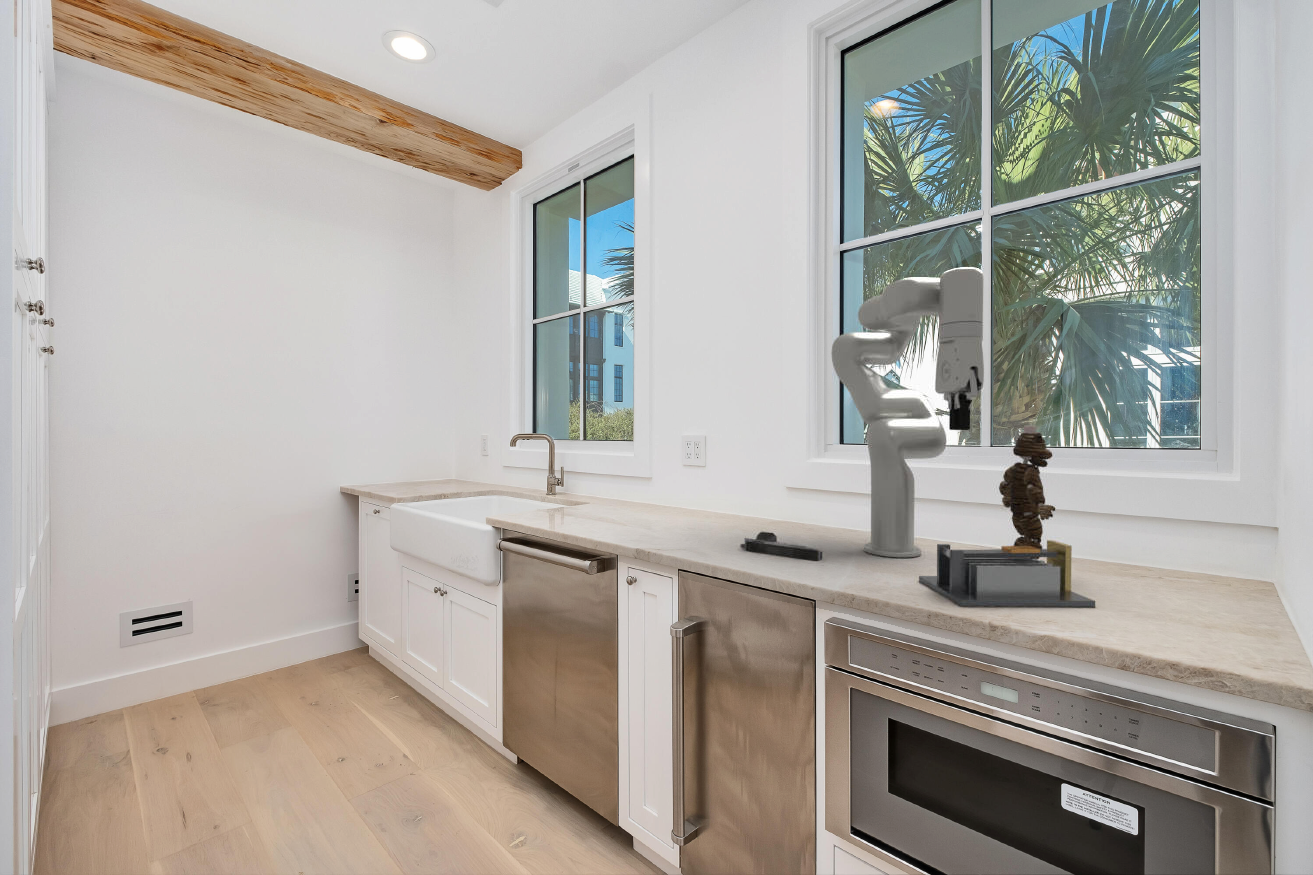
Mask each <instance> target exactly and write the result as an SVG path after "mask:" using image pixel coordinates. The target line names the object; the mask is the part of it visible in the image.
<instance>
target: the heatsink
mask: <svg viewBox="0 0 1313 875" xmlns="http://www.w3.org/2000/svg"><path fill="white" fill-rule="evenodd" d="M936 548H937V549H936V557H937V558H936V575H919V576H918V582H920V583H921V584H923V585H925V586H927V587H928V588H930V589H931V590H933V591H934V592H936V593H938V594H939V595H941V596H942V597H944V598H946V599H948V600H949V601H951V602H953V603H955V604H956V605H958V606H960V607H961V608H962V607H964V606H966V607H967V606H970V607H972V606H974V607H975V606H1008V607H1007V608H1010V607H1011V606H1015V607H1014V608H1016V607H1017V606H1020V607H1019V608H1022V607H1023V608H1028V607H1029V608H1030V607H1031V608H1036V607H1037V608H1039V607H1040V608H1045V607H1046V608H1096V600H1094V599H1091V598H1089V597H1086V596H1084V595H1081V594H1079V593H1077V592H1075V591H1072V548H1073V547H1072V545H1070V544H1067V543H1063V542H1060V541H1056V540H1052V539H1049V540H1047V539H1046V549H1048V550H1051V551H1054V552H1057V557H1046V561H1044V560H1039V559H1037V558H1031V557H1009V558H964V550H965V549H951V544H949V543H937V545H936ZM943 548H947V549H950V558H948V557H946V556H944V555H942V553H941V551H942V549H943ZM966 607H965V608H966ZM967 608H968V607H967ZM972 608H973V607H972ZM975 608H976V607H975ZM1011 608H1012V607H1011ZM1017 608H1018V607H1017Z"/></svg>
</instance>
